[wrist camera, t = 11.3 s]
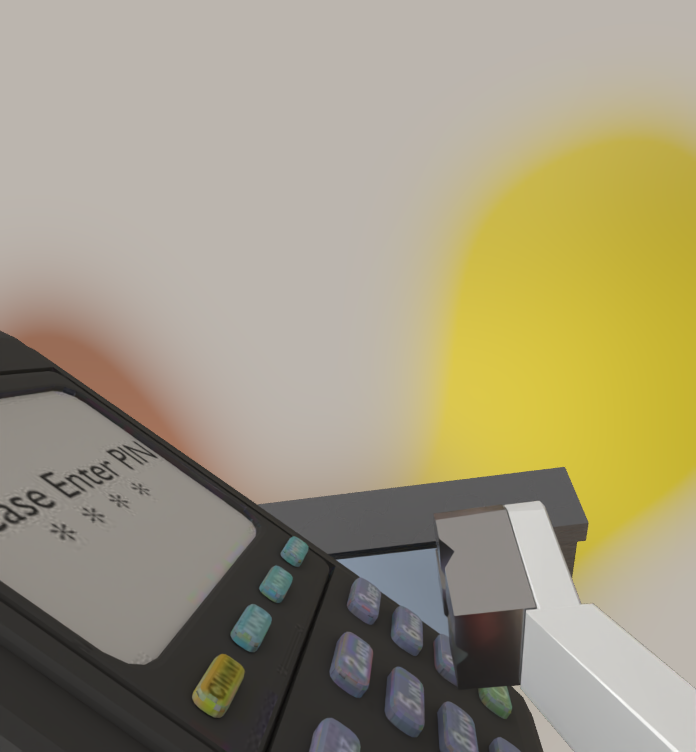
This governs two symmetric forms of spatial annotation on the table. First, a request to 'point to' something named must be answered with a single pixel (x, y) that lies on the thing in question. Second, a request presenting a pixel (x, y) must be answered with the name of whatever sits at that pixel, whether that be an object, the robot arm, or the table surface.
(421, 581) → the trapdoor
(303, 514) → the stand
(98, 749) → the card reader
